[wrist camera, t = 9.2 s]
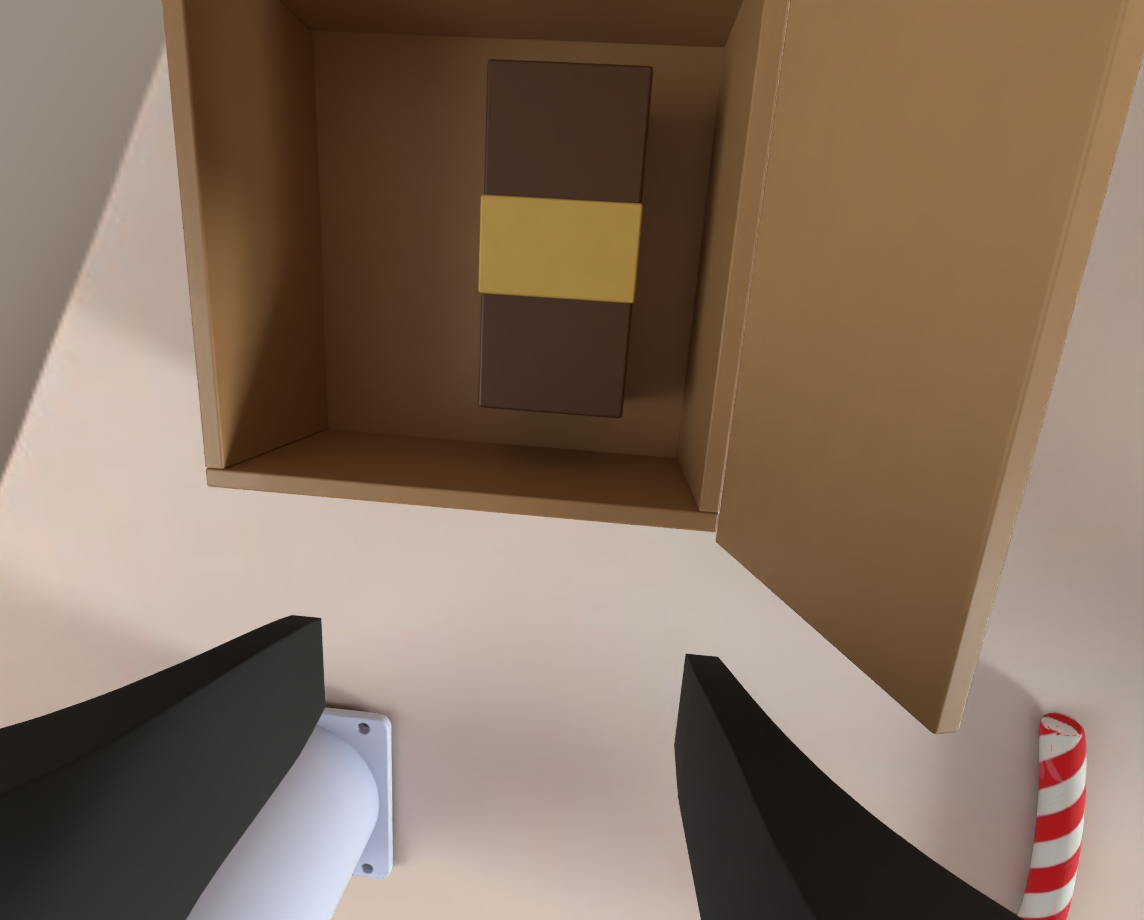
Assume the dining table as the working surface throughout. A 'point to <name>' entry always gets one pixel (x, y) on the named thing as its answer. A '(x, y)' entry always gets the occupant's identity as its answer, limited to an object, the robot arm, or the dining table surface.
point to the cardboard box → (453, 248)
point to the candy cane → (1057, 819)
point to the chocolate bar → (560, 233)
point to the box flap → (916, 312)
